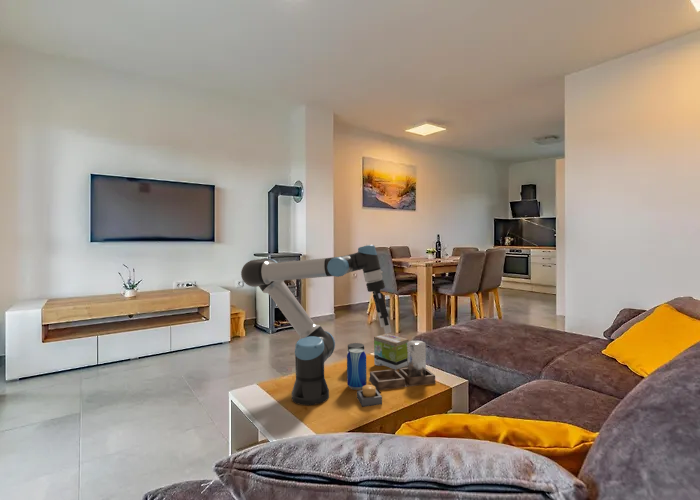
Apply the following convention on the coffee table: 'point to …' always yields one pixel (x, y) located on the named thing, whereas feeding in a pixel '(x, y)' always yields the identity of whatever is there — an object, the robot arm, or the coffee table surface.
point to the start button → (369, 391)
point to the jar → (355, 346)
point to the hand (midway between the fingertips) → (386, 329)
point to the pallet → (398, 379)
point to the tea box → (390, 351)
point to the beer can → (356, 368)
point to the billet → (416, 358)
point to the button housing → (369, 399)
